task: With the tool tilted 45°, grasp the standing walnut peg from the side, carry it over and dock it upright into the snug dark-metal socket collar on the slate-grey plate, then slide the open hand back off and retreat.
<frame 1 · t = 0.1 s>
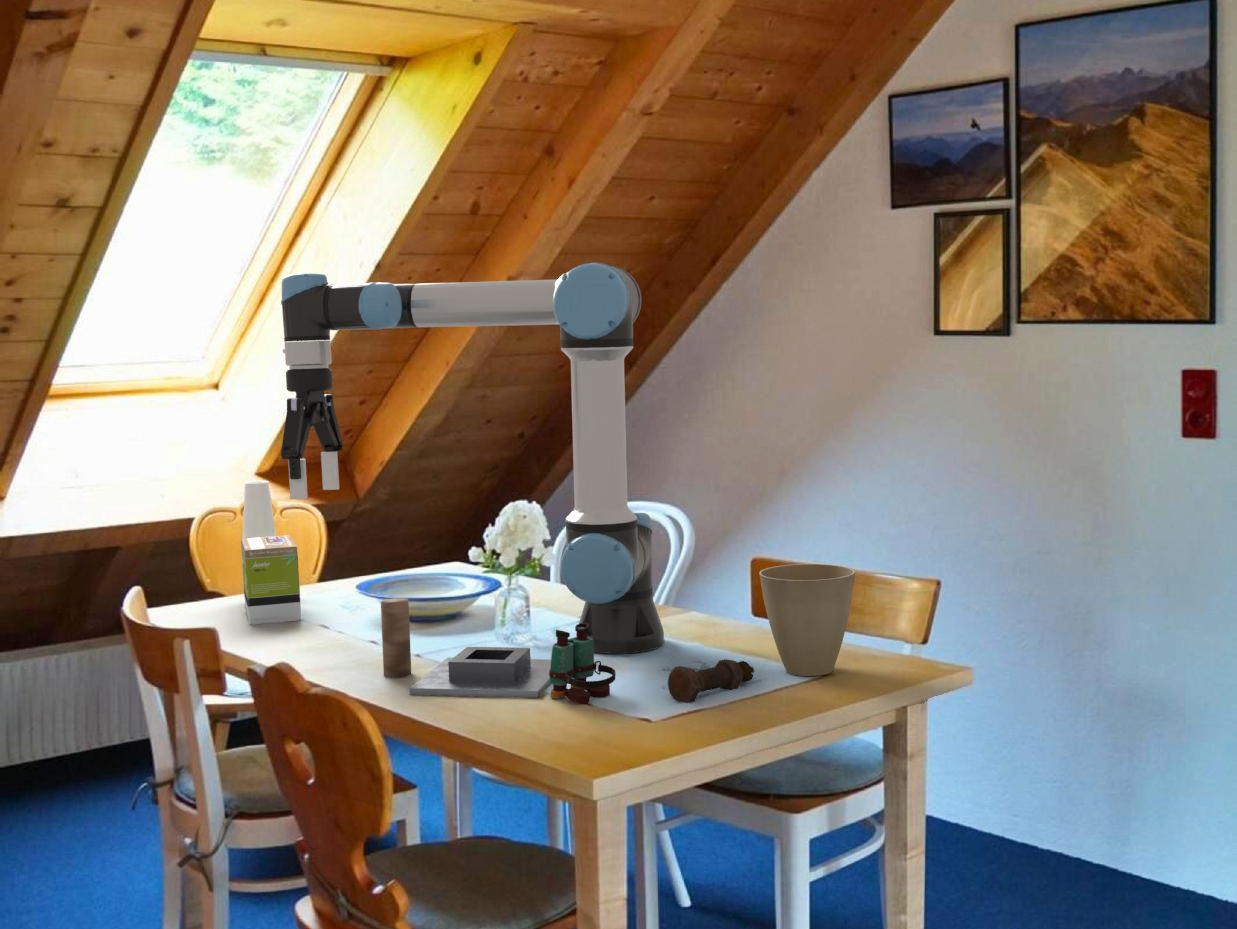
hand: (315, 494, 247), 28 cm above the table, tool pointing down, fingers open, 13 cm apart
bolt: (715, 694, 222), on the table
grey tapered column: (262, 598, 306), on the table
tea box: (272, 617, 286), on the table
plant pot: (807, 672, 233), on the table
peg: (397, 674, 237), on the table
socket: (490, 679, 232), on the table
binoculars: (585, 699, 220), on the table
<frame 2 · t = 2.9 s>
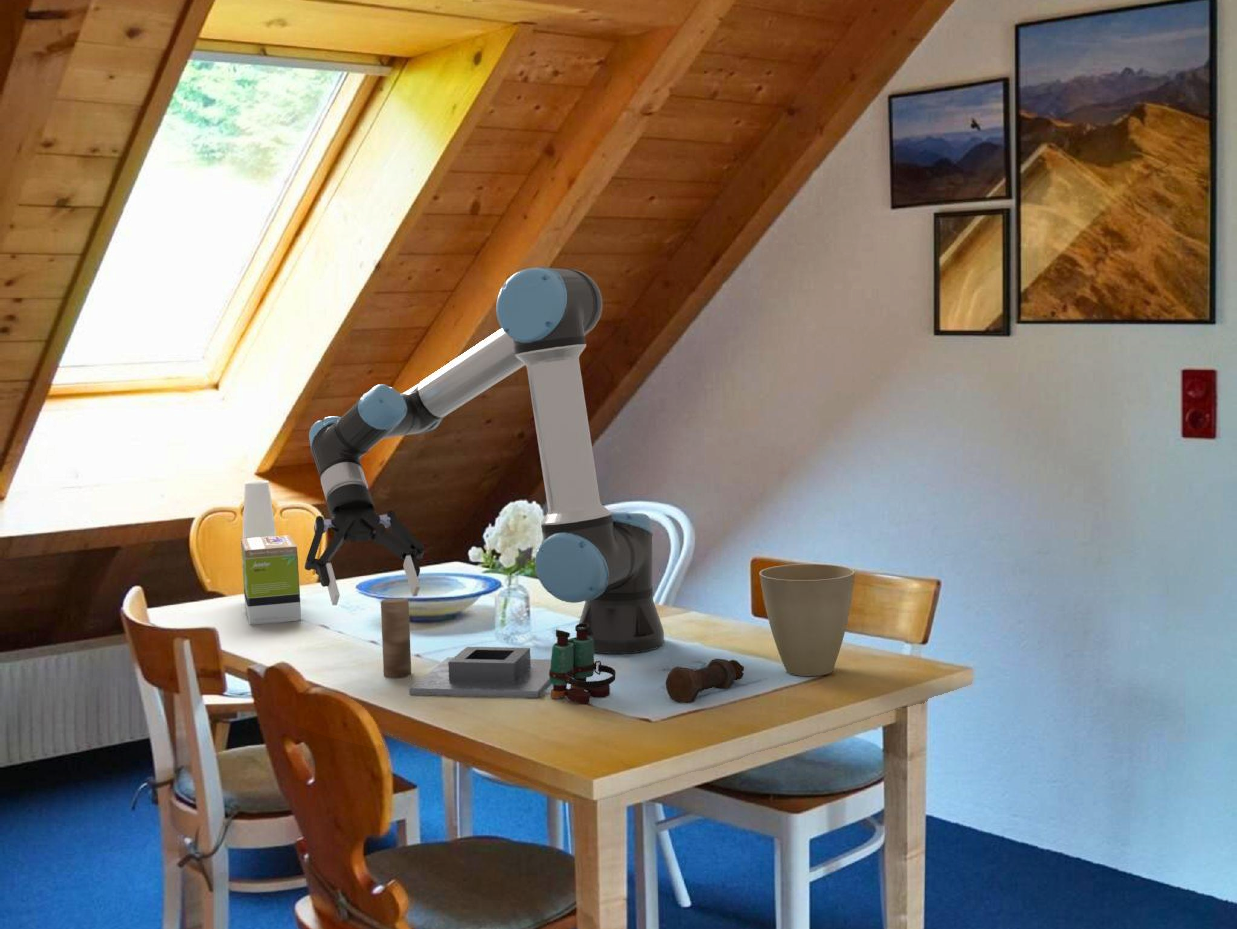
hand: (376, 596, 242), 12 cm above the table, tool tilted 45°, fingers open, 13 cm apart
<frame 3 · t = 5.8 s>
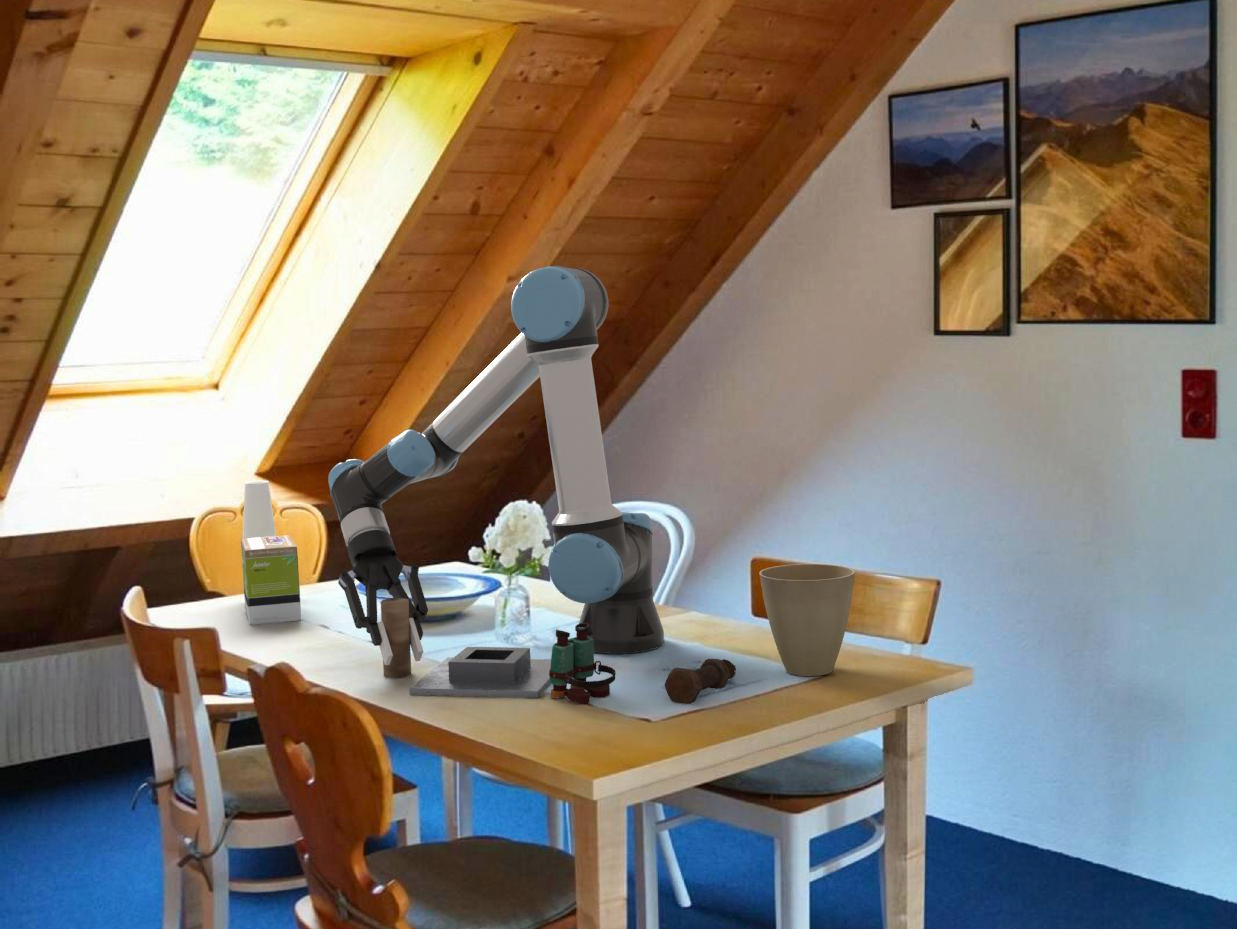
hand: (404, 658, 233), 3 cm above the table, tool tilted 45°, fingers closed on peg, 4 cm apart
peg: (397, 674, 237), on the table, touching gripper
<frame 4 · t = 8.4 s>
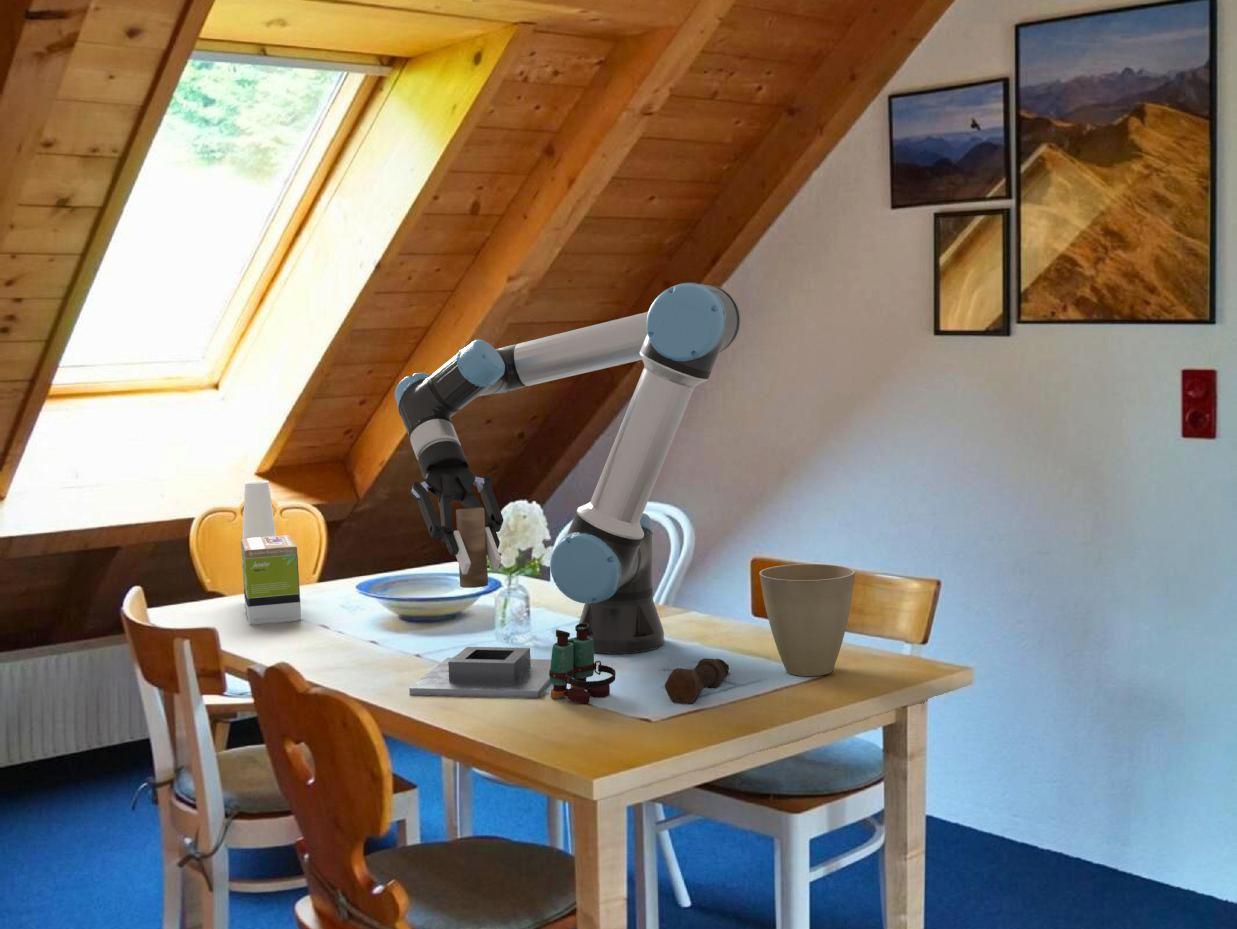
hand: (482, 566, 228), 18 cm above the table, tool tilted 45°, fingers closed on peg, 4 cm apart
peg: (474, 585, 231), point 15 cm above the table, touching gripper
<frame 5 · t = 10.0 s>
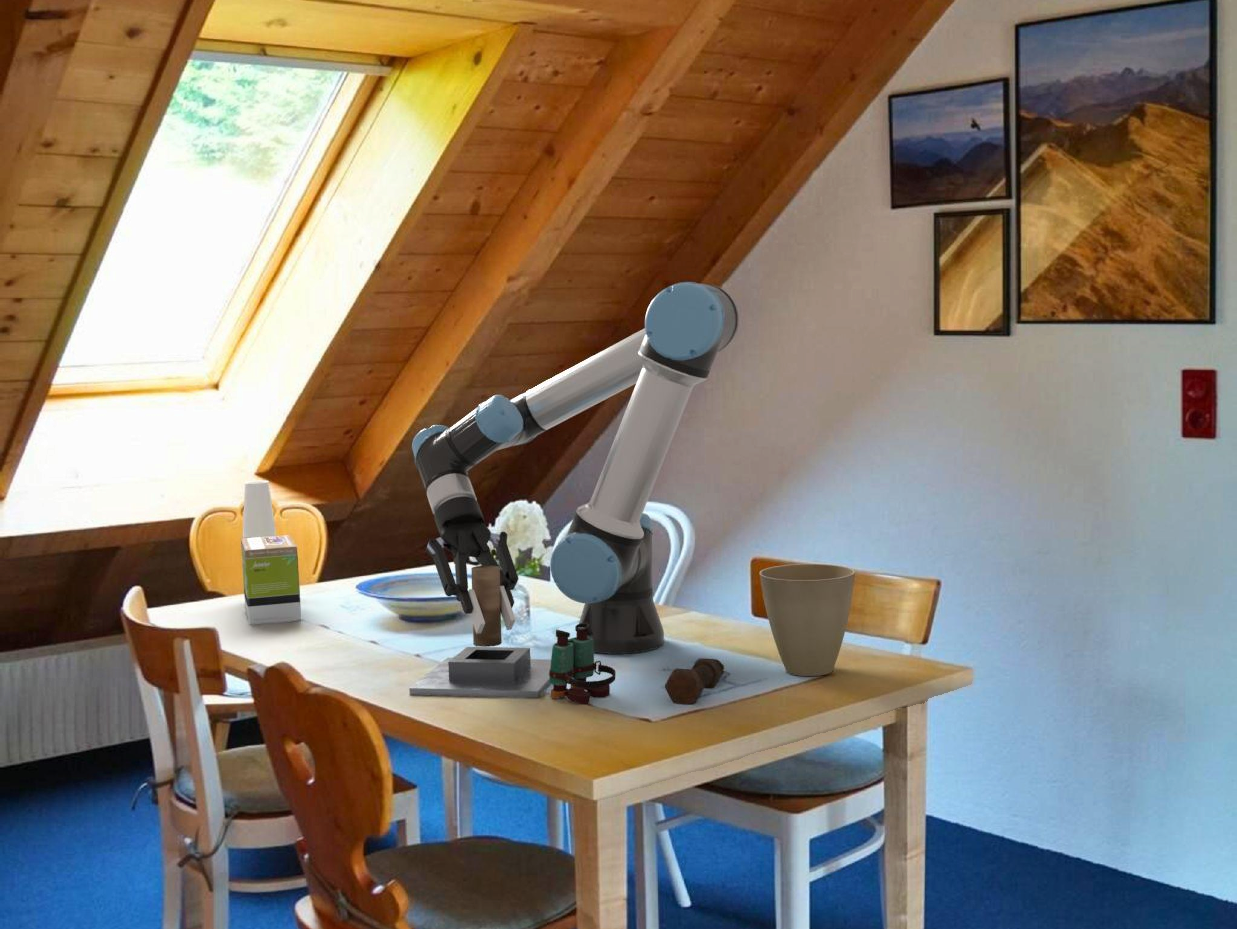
hand: (496, 626, 228), 9 cm above the table, tool tilted 45°, fingers closed on peg, 4 cm apart
peg: (487, 643, 232), point 6 cm above the table, touching gripper
when the fingers open (5 cm above the table, at t = 11.4 s): peg stays where it is, resting on socket.
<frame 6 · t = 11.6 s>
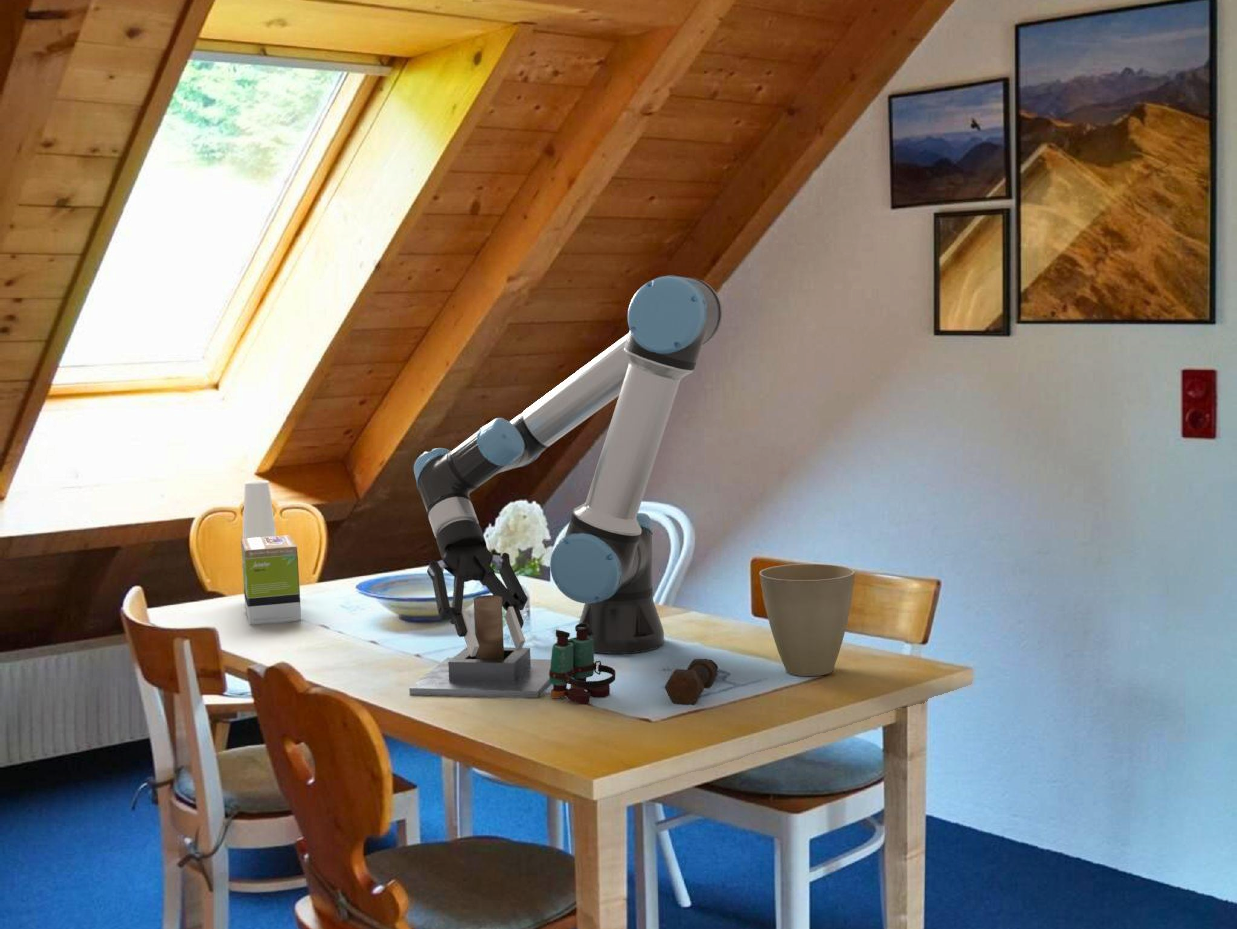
hand: (498, 648, 228), 6 cm above the table, tool tilted 45°, fingers open, 7 cm apart
peg: (490, 673, 232), point 1 cm above the table, touching socket
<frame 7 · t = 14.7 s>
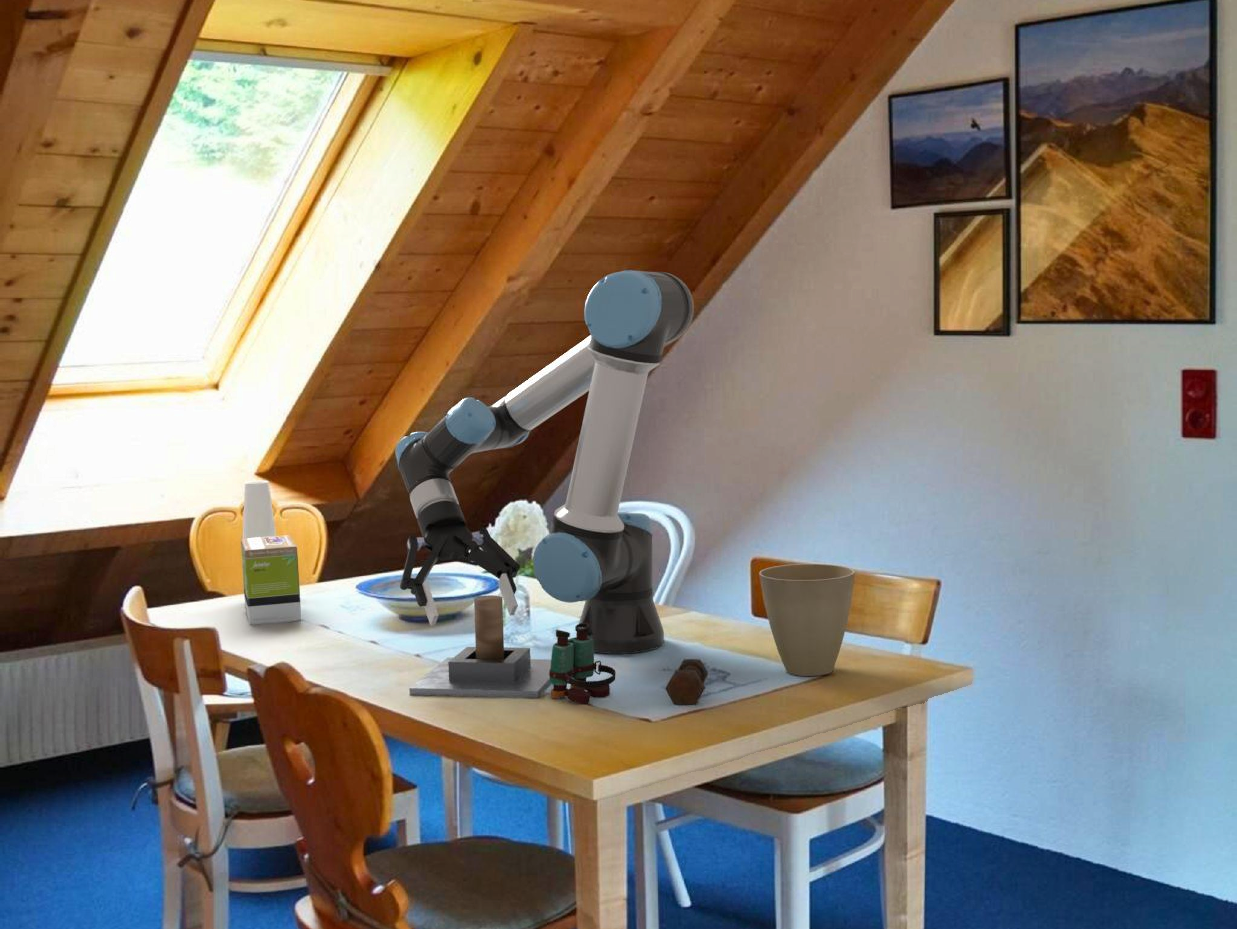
hand: (474, 615, 236), 9 cm above the table, tool tilted 45°, fingers open, 13 cm apart
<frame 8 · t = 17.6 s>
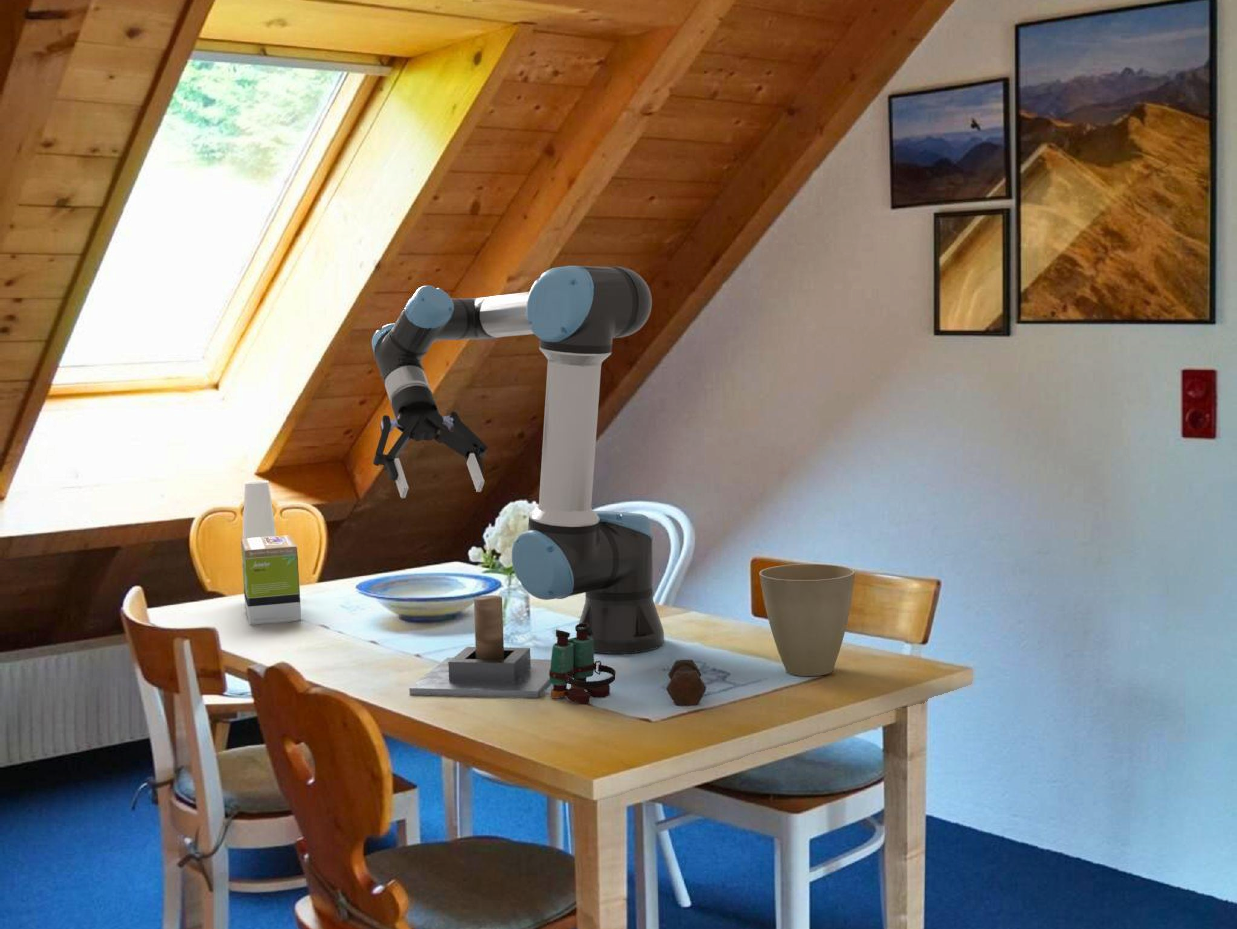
hand: (443, 490, 250), 28 cm above the table, tool tilted 45°, fingers open, 13 cm apart
at the end: peg 0.0 cm off-centre on the socket, point 1.0 cm above the socket's base; peg tilted 0°; the gripper is holding nothing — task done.
